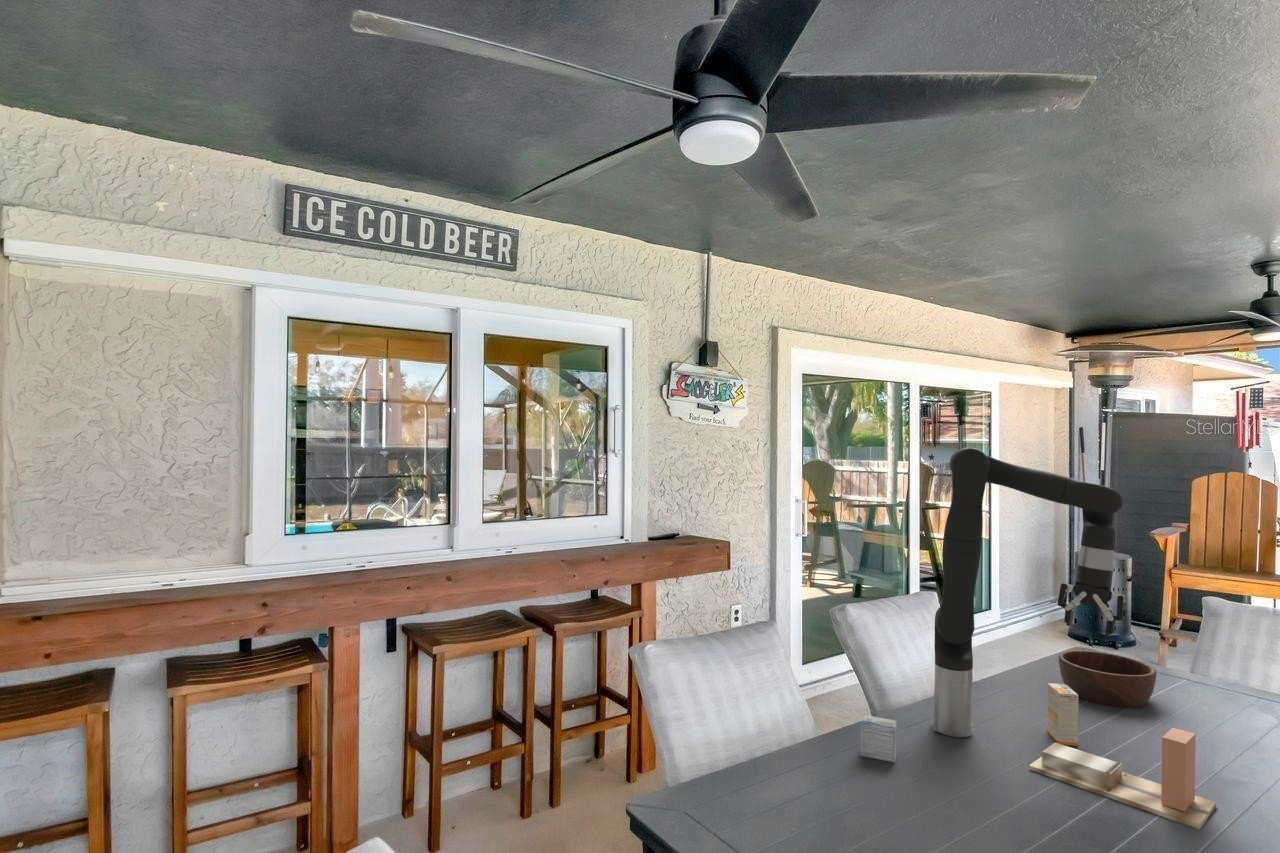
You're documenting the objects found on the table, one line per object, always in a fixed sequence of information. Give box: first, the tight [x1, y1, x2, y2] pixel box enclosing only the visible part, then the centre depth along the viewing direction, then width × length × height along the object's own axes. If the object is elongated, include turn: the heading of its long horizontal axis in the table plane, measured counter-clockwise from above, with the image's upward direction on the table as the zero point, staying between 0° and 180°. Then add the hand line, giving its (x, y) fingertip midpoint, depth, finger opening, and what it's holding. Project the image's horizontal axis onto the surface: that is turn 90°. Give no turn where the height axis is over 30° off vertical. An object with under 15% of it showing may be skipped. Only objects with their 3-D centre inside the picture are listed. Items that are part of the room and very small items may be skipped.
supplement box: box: [1046, 682, 1079, 747], centre depth 184 cm, size 8×5×13 cm, turn 168°
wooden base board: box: [1028, 742, 1217, 830], centre depth 158 cm, size 32×14×4 cm, turn 40°
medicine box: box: [860, 715, 898, 763], centre depth 171 cm, size 8×4×9 cm, turn 65°
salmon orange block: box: [1161, 727, 1197, 812], centre depth 150 cm, size 4×8×14 cm, turn 130°
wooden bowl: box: [1058, 649, 1157, 708], centre depth 216 cm, size 25×25×10 cm
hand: (1088, 630), depth 176 cm, fingers open, 8 cm apart
